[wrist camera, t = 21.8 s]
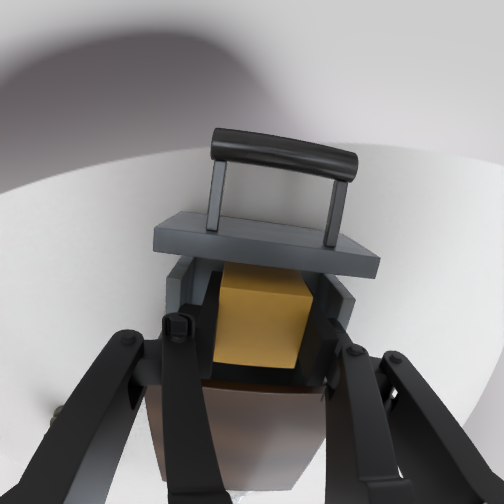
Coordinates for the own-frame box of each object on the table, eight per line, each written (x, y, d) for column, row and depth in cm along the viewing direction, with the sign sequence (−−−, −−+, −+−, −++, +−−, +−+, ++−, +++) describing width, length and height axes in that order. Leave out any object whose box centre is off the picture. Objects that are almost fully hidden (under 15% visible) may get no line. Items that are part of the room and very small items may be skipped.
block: (225, 258, 16) (220, 286, 12) (296, 267, 17) (313, 297, 13) (218, 321, 18) (212, 361, 13) (283, 328, 18) (294, 368, 14)
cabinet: (169, 314, 21) (141, 375, 13) (321, 331, 22) (350, 392, 14) (173, 428, 25) (162, 481, 18) (282, 438, 26) (291, 490, 19)
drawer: (189, 137, 16) (166, 120, 11) (355, 164, 17) (399, 163, 12) (174, 377, 22) (160, 425, 16) (300, 389, 22) (312, 436, 17)
